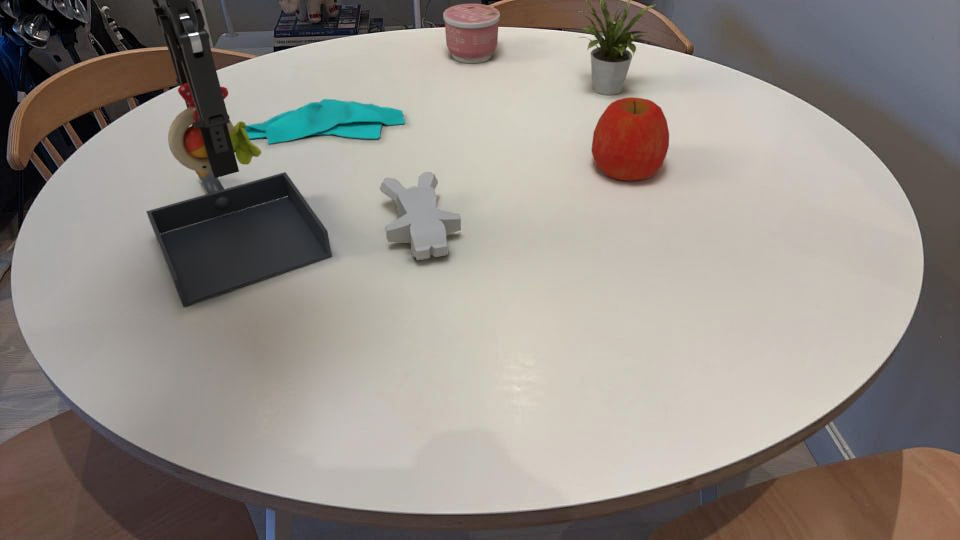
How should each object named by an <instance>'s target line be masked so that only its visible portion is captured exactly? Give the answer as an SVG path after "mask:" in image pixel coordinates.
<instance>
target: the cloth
mask: <svg viewBox="0 0 960 540" xmlns="http://www.w3.org/2000/svg"><path fill="white" fill-rule="evenodd" d="M383 124H384V125H386V126H399V125H405V124H406V120H405V118H404V113H403V110H402V109H397V108H393V107H389V106H380V105H377V104H373V103H363V102H362V103H361V102H357V101H354V100H352V101H351V100H350V101H345V100H339V99H331V98H323V99H322V100H320V101H311V102H309V103H307V104H304V105H303V106H300V107H298V108H296V109H292V110H287V111H285V112H282V113H280V114H277V115H275V116H273V117H271V118H269V119H267V120H266V121H264V122H258V123H257V122H256V123H252V124H246V127H245V129H244V130H245V131H246V133H247V135H248V137H249V140H253V139H262V138H263V139H265V138H266V139H267V143H268V145H273V144H278V143H284V142H285V143H286V142H289V141H290V142H291V141H295V140H298V139H302V138H306V137H309V136H322V135H323V136H324V135H326V136H330V135H334V136H337V137H342V138H349V139H362V140H378V139H380V137H381V136H380V135H381V132H382V131H381V130H382V128H383Z"/></svg>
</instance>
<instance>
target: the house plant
mask: <svg viewBox="0 0 960 540" xmlns="http://www.w3.org/2000/svg"><path fill="white" fill-rule="evenodd" d="M584 1H585V2H586V3H587V4H588V6H589V7H590V9H591V10H592V12H591V11H587V10H578V13H589V14H590V15H592V16H593V18H595V19H596V21H597V23H598V25H599V27H600V29H601V31H602V34H603V36H602V34H600V32H599V29H598V27H597V26H596V24H595V23H594V21H593V20H592V19H591V18H590V17H589V16H587V15H583V14H582V15H581V14H580V15H579V14H578V15H577V16H578V17H580V16H581V17H585V18H586V19H588V20H589V21H590V23H591V24H592V25H587V26H585V27H583V28H582V31H585V32H586V34H588V35H592V36H594V37H595V39H593V40H592V39H590V38H588V40H589V42H588V44H587V49H586V51H588V50H589V49H591V48H593V47H594V48H593V49H592V50H591V51H590V68H591V69H590V70H591V85H592V90H593V92H595V93H597V94H600V95H605V96H614V95H617V94H620V93H622V91H623V88H624V86H625V82H626V79H627V76H628V72H629V69H630V66H631V63H632V59H633V56H635V54H636V50H637V46H636V44H634V43H633V42H634V41H636V40H638V39H639V38H641V37H645V35H644V34H648V32H646V31H641V30H631V28H632V27H633V26H634V25H635V24H636V23H637V22H638V20H642V19H645V17H643V16H644V15H645V14H646V12H647V11H648V10H650V9H651V8H654V7H655V6H657V5H658V3H655V4H654V3H653V4H651V5H648V6H646V7H644V8H642V9H641V11H639V12H638V13H637V14H635V16H634V17H633V18H631V20H629V22H628V23H627V25H626V26H625V27H624V25H625V22H626V20H627V17H628V14H629V11H630V6H631V0H628V1H627V3H626V6H625V8H624V9H623V14H622V12H619V8H620V5H621V3H622V0H619V2H618V4H617V7H616V11H615V15H614V20H613V21H612V19H611V16H610V12H609V10H608V6H607V5H608V4H607V2H606V0H598V2H599V4H600V7H601V11H602V14H603V17H604V21H605V22H604V23H605V26H604V24H603V22H602V20H601V19H600V17H599V15H598V14H597V11H596V10H595V8H594V6H593V4H592V3H591V2H590V1H589V0H584ZM618 12H619V13H618ZM621 14H622V16H621ZM620 17H621V19H619V18H620ZM630 30H631V31H630ZM635 34H636V35H635ZM579 38H581V39H582V38H584V39H587V37H586V36H578V39H579ZM598 45H599V46H598ZM595 47H596V48H595ZM628 49H629V50H630V51H629V50H628Z"/></svg>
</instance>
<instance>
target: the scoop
mask: <svg viewBox="0 0 960 540" xmlns="http://www.w3.org/2000/svg"><path fill="white" fill-rule="evenodd" d="M198 178H199V181H200V182H201V184H202V186H203V188H204V190H205V192H206V194H203V195H199V196H196V197H192V198H188V199H184V200H181V201H178V202H175V203H169V204H167V205H164V206H160V207H157V208H153V209H150V210H146V215H147V217H148V219H149V222H150V223H149V224H150V226H151V228H152V230H153V233H154V235H155V238H156V241H157V244H158V247H159V249H160V251H161V253H162V257H163V259H164V262H165V264H166V267H167V269H168V271H169V274H170V276H171V279H172V282H173V285H174V287H175V289H176V292H177V294H178V297H179V300H180V302H181V305H182V307H183V308H184V307H187V306H190V305H194V304H197V303H200V302H202V301H206V300H208V299H211V298H215V297H217V296H220V295H223V294H226V293H229V292H231V291H234V290H238V289H241V288H244V287H246V286H249V285H252V284H256V283H258V282H261V281H264V280H268V279H270V278H273V277H275V276H278V275H282V274H285V273H287V272H290V271H293V270H297V269H299V268H302V267H305V266H308V265H311V264H315V263H317V262H320V261H323V260H326V259H328V258H331V257H333V254H332V248H331V243H330V237H329V232H328V230H327V227H326V226H325V225H324V223H323V222H322V221H321V219H320V218H319V217H318V215H317V214H316V213H315V212H314V210H313V208H312V207H311V206H310V204H309V203H308V201H307V200H306V198H305V197H304V196H303V194H302V193H301V192H300V190H299V189H298V187H297V186H296V185H295V183H294V182H293V180H292V179H291V177H290V176H289V175H288V173H287V172H286V171H284V172H280V173H277V174H273V175H270V176H267V177H262V178H260V179H255V180H252V181H248V182H245V183H242V184H237V185H234V186H230V187H228V188H225V187H224V186H223V184H222V182H221V180H220V179H219V177H218V178H215V177H214V176H213V172H212V170H211V171H210V172H209V173H208V174H207V175H206V176H205V177H203V178H202V177H200V176H198Z"/></svg>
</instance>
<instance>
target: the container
mask: <svg viewBox="0 0 960 540" xmlns="http://www.w3.org/2000/svg"><path fill="white" fill-rule="evenodd" d="M442 15H443V17H442V18H443V21H444V30H445V31H444V32H445V44H446V47H447V49H448V52H449V53H450V54H451V56H452V57H451V58H453V59H454V60H456V61H457V62H460V63H465V64H479V63H483V62H486V61H488V60H490V59H491V58H492V56H493V55H492V54H494V53H495V51H496V48H497V46H498V40H499V21H500V18H501V12H500V11H499V9H497V8H496V7H494V6H491V5H488V4H483V3H461V4H457V5H452V6H450V7H448V8H446V9H445V10H444V12H443V14H442Z"/></svg>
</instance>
